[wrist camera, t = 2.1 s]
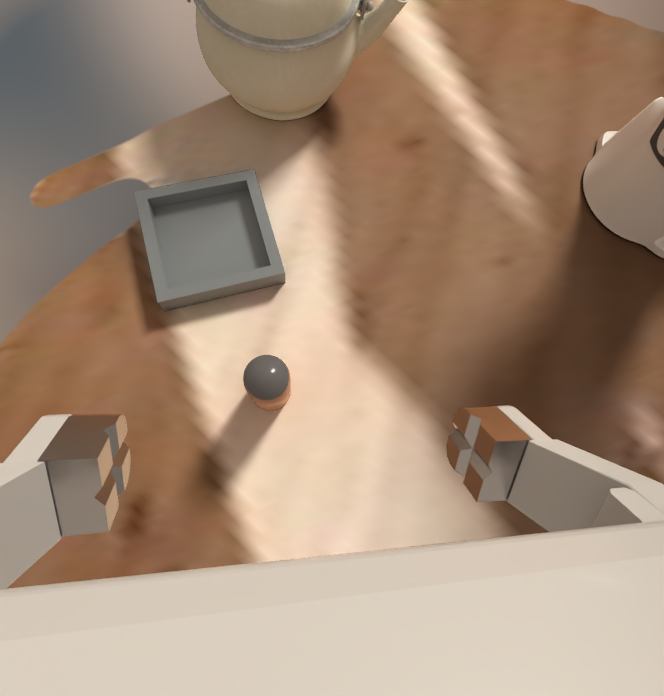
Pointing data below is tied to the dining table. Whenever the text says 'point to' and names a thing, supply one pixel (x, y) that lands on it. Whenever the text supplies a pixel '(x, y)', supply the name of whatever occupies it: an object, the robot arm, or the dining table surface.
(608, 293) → the dining table surface
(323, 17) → the kettle
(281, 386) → the terracotta jar
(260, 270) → the tray
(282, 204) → the dining table surface
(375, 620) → the robot arm
